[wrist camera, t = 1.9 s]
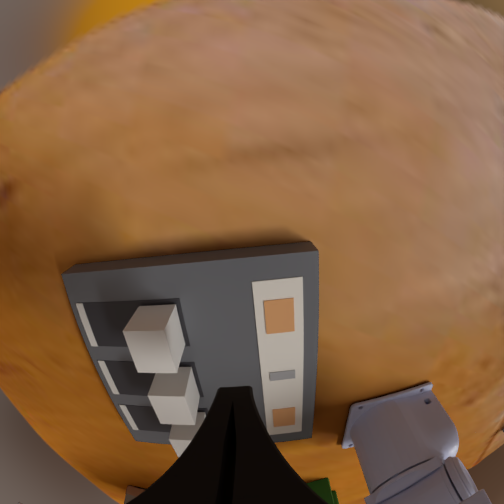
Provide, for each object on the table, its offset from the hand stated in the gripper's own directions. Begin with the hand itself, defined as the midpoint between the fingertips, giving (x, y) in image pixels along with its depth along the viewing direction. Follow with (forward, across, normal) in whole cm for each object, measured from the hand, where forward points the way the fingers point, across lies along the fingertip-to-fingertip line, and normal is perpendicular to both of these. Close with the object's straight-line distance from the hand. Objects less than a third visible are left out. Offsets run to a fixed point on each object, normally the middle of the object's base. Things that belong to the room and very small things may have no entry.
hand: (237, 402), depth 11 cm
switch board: (+9, +4, +5) cm, 11 cm away
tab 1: (+7, +5, 0) cm, 9 cm away
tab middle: (+7, +5, +5) cm, 10 cm away
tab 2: (+7, +5, +10) cm, 13 cm away
